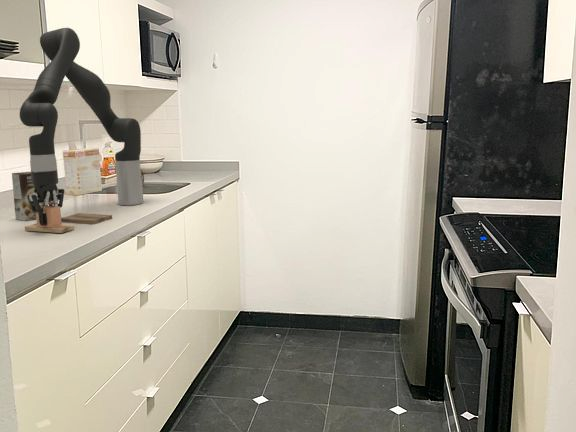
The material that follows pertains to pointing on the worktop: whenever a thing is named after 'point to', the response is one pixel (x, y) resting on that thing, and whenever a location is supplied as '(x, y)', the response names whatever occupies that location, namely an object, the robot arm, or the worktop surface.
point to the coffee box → (23, 195)
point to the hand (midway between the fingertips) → (49, 223)
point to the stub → (50, 222)
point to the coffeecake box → (82, 171)
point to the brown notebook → (86, 218)
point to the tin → (142, 177)
